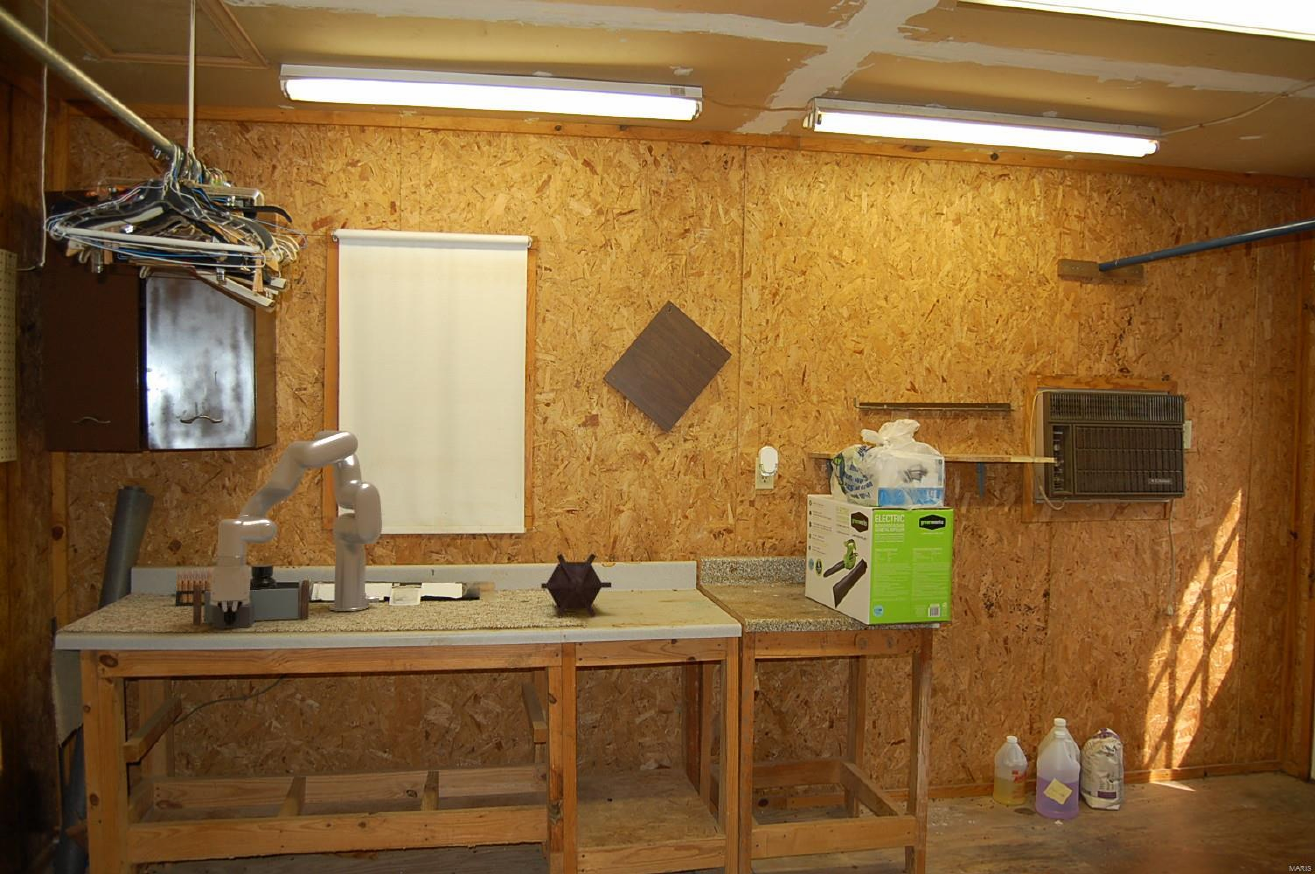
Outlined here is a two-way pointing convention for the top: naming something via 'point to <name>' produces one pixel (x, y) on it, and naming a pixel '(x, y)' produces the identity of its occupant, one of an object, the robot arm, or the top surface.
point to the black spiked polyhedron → (574, 585)
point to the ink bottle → (262, 576)
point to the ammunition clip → (191, 587)
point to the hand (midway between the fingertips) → (229, 624)
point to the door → (265, 604)
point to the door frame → (302, 612)
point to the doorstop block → (242, 617)
